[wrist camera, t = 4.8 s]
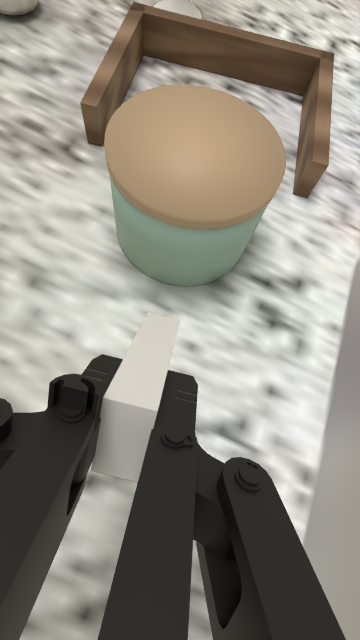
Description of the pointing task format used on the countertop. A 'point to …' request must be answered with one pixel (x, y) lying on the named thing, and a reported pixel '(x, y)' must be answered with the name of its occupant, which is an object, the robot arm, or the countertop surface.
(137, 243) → the green canister
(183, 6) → the champagne flute
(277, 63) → the walnut bay
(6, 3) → the plastic bottle
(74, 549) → the countertop surface
